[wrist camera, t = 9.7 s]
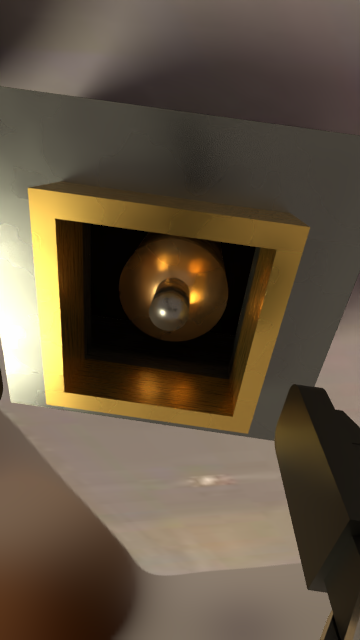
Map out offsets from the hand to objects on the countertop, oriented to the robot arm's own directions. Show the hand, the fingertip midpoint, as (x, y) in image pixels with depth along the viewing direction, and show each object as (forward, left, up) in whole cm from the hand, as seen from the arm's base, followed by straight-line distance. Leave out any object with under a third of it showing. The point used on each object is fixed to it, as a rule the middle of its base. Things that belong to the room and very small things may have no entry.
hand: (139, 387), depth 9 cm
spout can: (0, 0, -15) cm, 15 cm away
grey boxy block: (0, 0, -15) cm, 15 cm away
